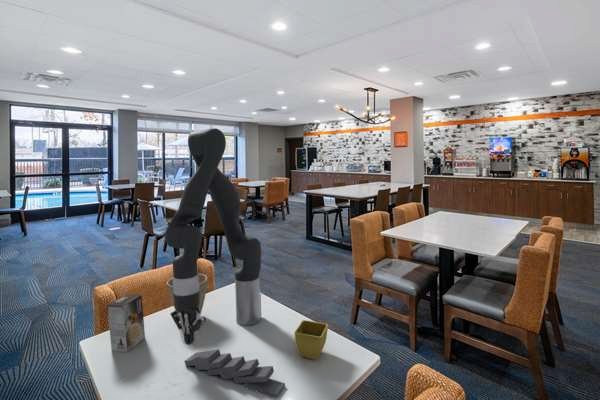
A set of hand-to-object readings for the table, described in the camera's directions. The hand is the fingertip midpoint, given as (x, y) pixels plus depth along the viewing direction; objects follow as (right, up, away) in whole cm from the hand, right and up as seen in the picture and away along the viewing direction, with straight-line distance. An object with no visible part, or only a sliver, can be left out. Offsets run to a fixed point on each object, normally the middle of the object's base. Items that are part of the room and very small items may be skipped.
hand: (189, 343), depth 103 cm
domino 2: (+4, -6, -1) cm, 7 cm away
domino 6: (+20, -7, -9) cm, 23 cm away
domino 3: (+8, -6, -4) cm, 11 cm away
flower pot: (+38, -5, +4) cm, 39 cm away
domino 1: (0, -5, +1) cm, 5 cm away
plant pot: (-10, -3, +29) cm, 31 cm away
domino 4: (+13, -6, -6) cm, 15 cm away
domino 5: (+17, -6, -7) cm, 19 cm away
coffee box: (-24, -5, +11) cm, 27 cm away
